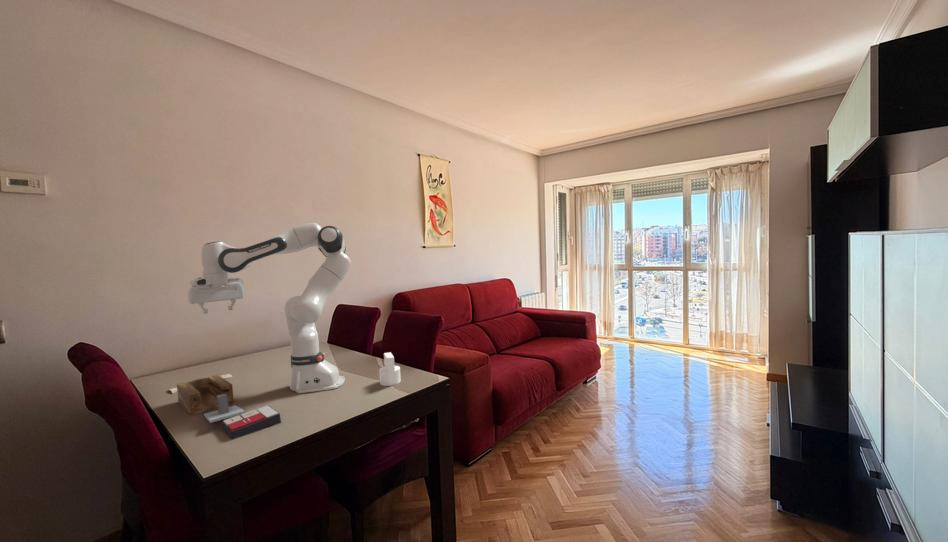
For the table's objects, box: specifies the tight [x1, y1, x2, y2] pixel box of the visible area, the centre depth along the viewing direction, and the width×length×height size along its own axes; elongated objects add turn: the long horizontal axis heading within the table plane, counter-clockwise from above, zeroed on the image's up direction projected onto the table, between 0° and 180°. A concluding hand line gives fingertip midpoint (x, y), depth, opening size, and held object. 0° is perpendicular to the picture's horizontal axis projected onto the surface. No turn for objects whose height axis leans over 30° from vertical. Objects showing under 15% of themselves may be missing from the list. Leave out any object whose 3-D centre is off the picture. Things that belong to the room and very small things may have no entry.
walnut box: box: [176, 374, 235, 416], centre depth 153 cm, size 14×20×8 cm
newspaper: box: [167, 373, 233, 394], centre depth 176 cm, size 24×7×2 cm, turn 144°
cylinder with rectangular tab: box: [378, 351, 402, 387], centre depth 168 cm, size 9×9×12 cm
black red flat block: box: [221, 405, 282, 440], centre depth 131 cm, size 11×4×15 cm
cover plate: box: [203, 394, 246, 424], centre depth 137 cm, size 10×18×7 cm, turn 41°
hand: (218, 311), depth 166 cm, fingers open, 8 cm apart
